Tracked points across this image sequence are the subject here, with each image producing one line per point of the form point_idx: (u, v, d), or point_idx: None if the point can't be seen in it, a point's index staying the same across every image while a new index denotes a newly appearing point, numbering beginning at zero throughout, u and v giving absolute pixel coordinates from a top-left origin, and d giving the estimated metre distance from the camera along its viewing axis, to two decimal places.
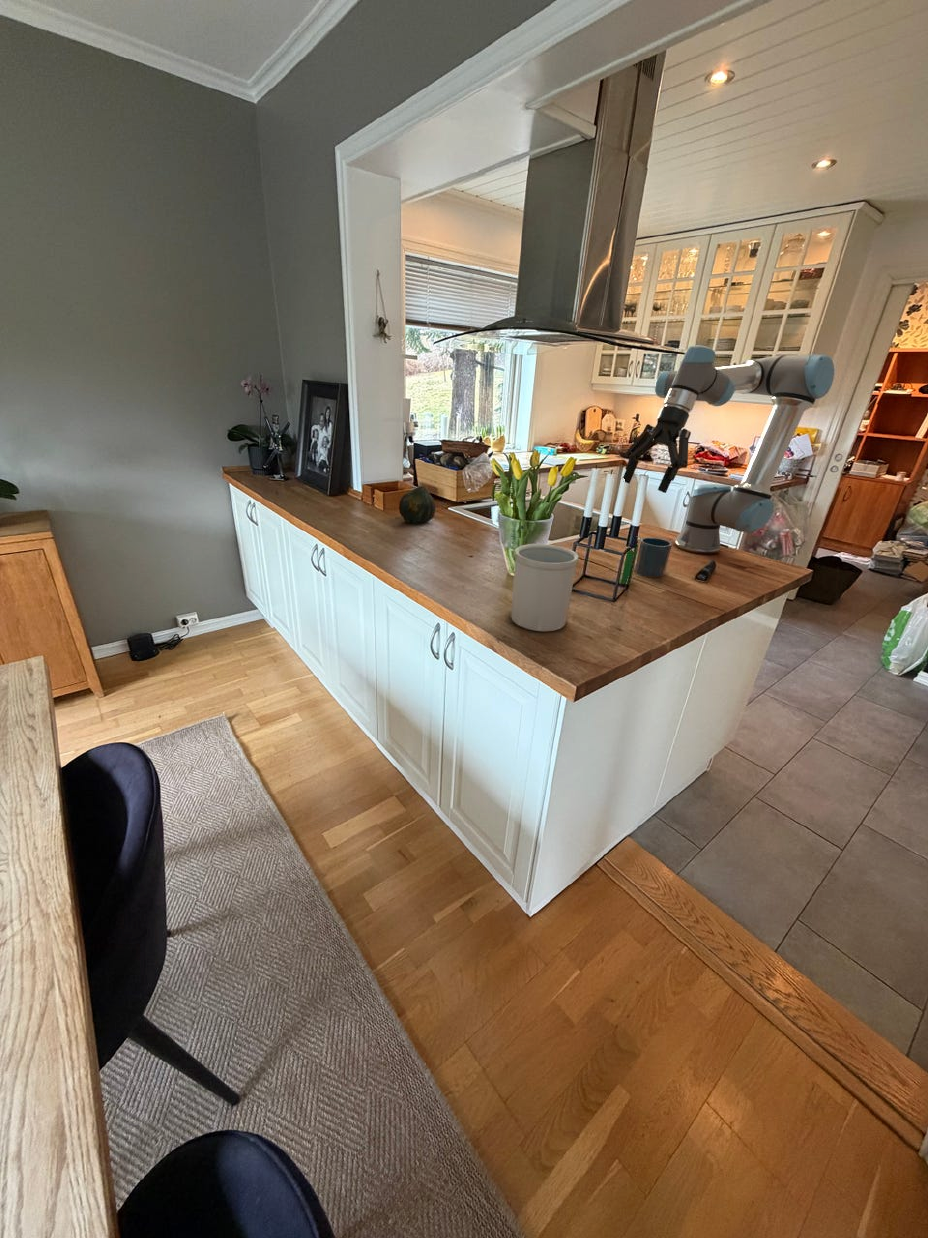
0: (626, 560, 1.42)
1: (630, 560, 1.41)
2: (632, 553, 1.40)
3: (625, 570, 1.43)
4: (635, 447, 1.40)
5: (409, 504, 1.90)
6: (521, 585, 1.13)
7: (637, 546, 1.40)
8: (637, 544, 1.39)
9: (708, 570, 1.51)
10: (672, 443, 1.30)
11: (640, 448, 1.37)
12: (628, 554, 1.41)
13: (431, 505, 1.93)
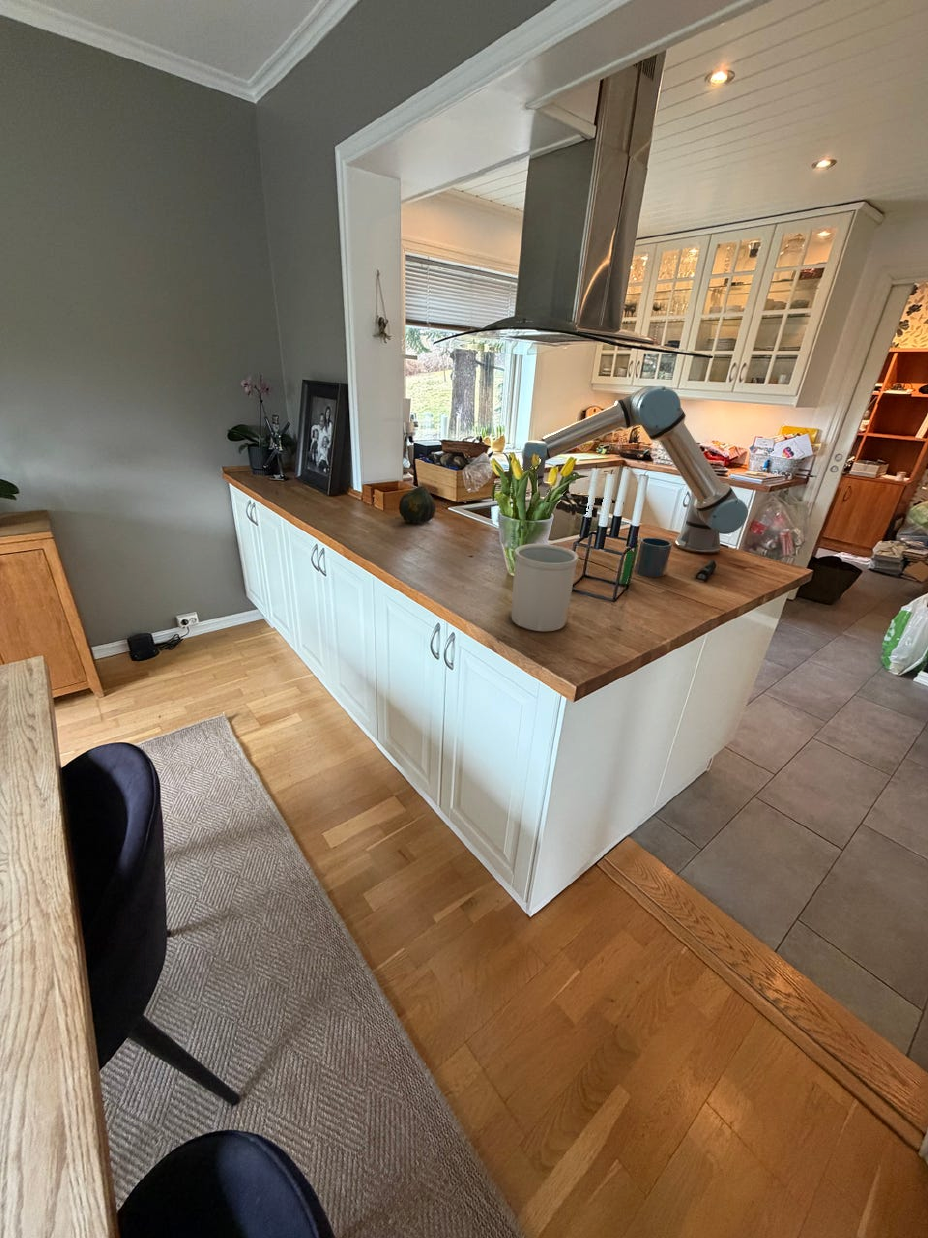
0: (626, 560, 1.42)
1: (630, 560, 1.41)
2: (632, 553, 1.40)
3: (625, 570, 1.43)
4: None
5: (409, 504, 1.90)
6: (521, 585, 1.13)
7: (637, 546, 1.40)
8: (637, 544, 1.39)
9: (708, 570, 1.51)
10: None
11: None
12: (628, 554, 1.41)
13: (431, 505, 1.93)
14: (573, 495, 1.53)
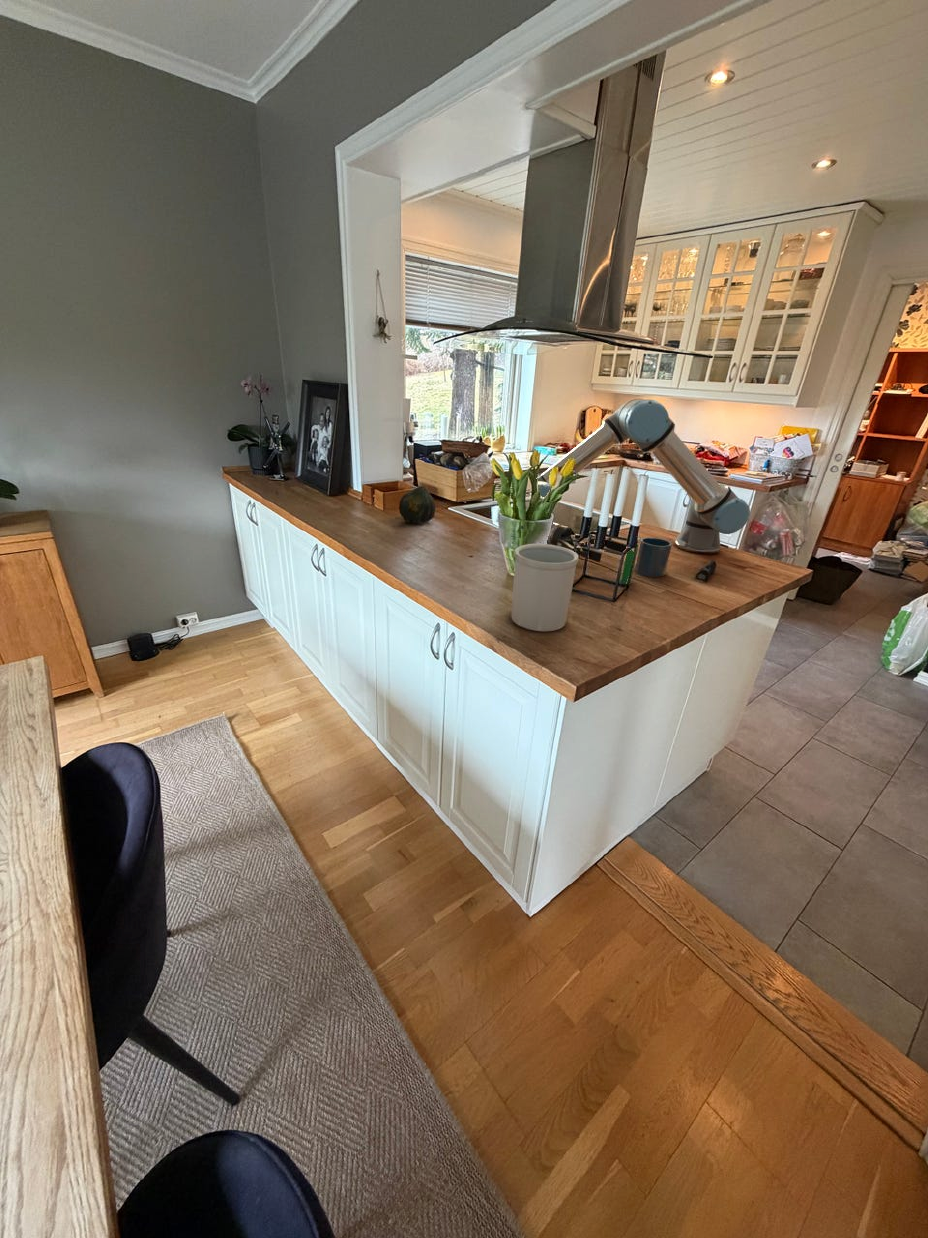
0: (626, 560, 1.42)
1: (630, 560, 1.41)
2: (632, 553, 1.40)
3: (625, 570, 1.43)
4: None
5: (409, 504, 1.90)
6: (521, 585, 1.13)
7: (637, 546, 1.40)
8: (637, 544, 1.39)
9: (708, 570, 1.51)
10: None
11: None
12: (628, 554, 1.41)
13: (431, 505, 1.93)
14: (577, 536, 1.56)
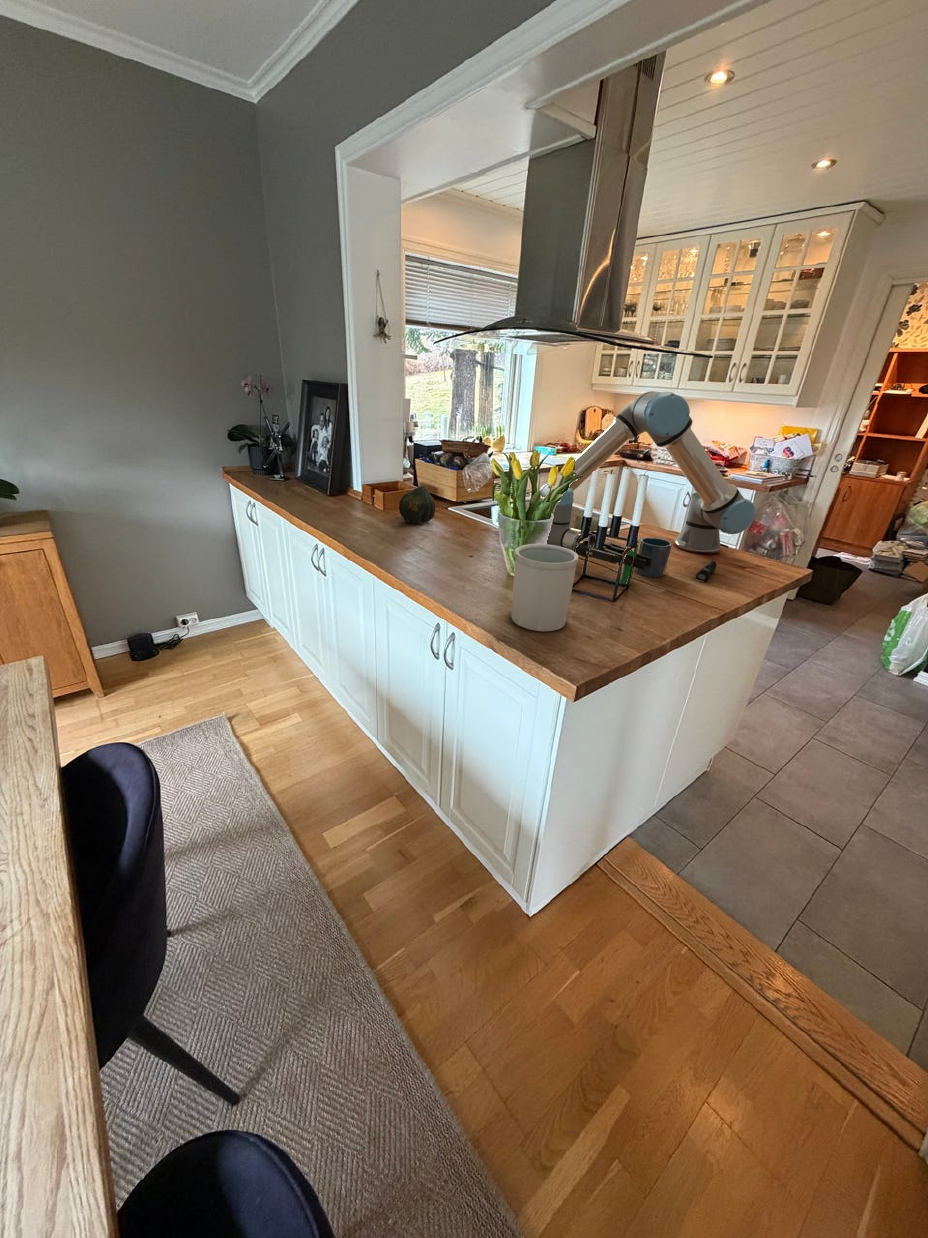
0: None
1: None
2: (632, 553, 1.40)
3: (625, 570, 1.43)
4: None
5: (409, 504, 1.90)
6: (521, 585, 1.13)
7: (637, 546, 1.40)
8: (637, 544, 1.39)
9: (708, 570, 1.51)
10: None
11: None
12: (628, 554, 1.41)
13: (431, 505, 1.93)
14: None
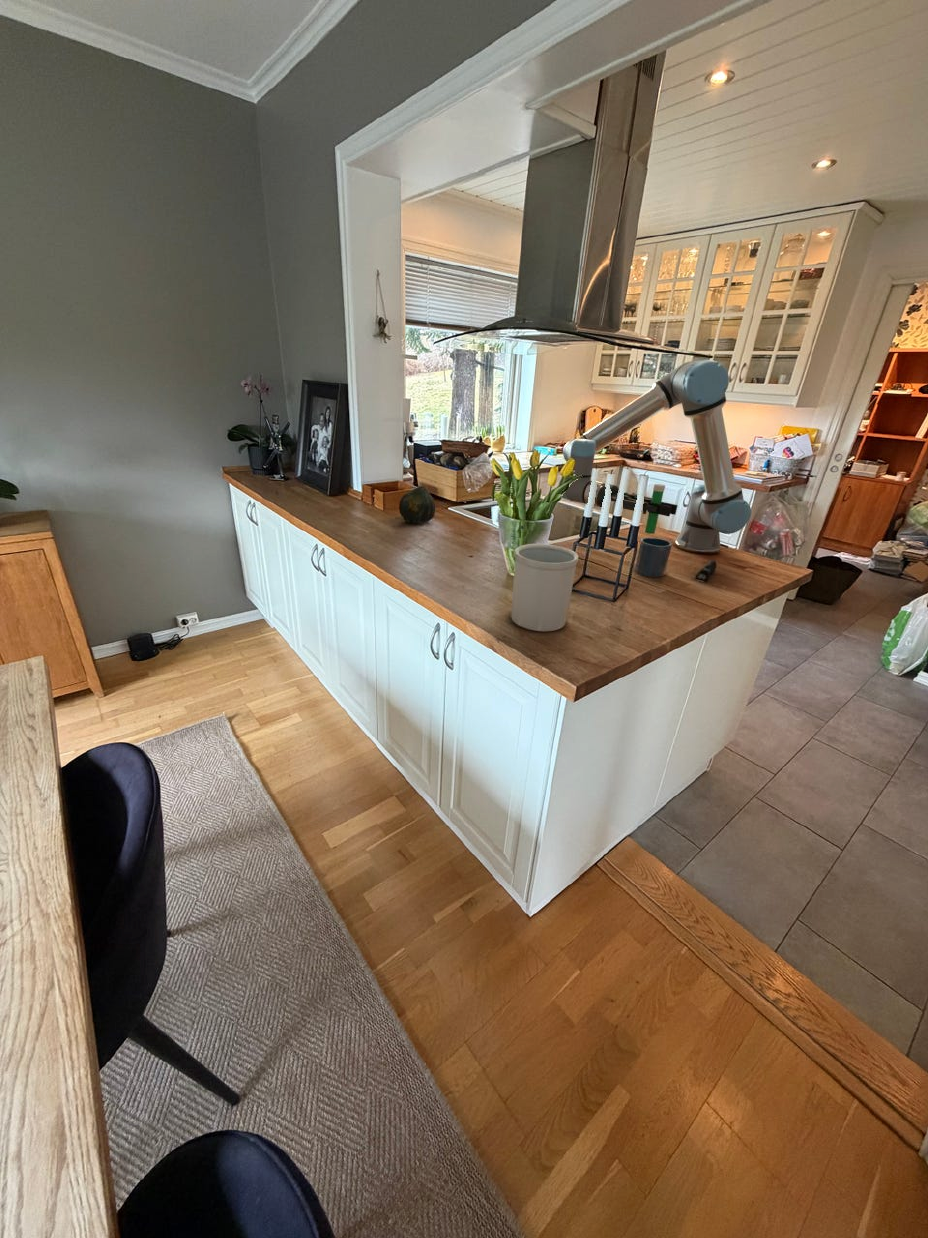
0: None
1: None
2: (657, 500, 1.39)
3: (649, 519, 1.42)
4: None
5: (409, 504, 1.90)
6: (521, 585, 1.13)
7: (662, 493, 1.39)
8: (662, 491, 1.38)
9: (708, 570, 1.51)
10: None
11: None
12: (653, 502, 1.40)
13: (431, 505, 1.93)
14: (624, 494, 1.49)
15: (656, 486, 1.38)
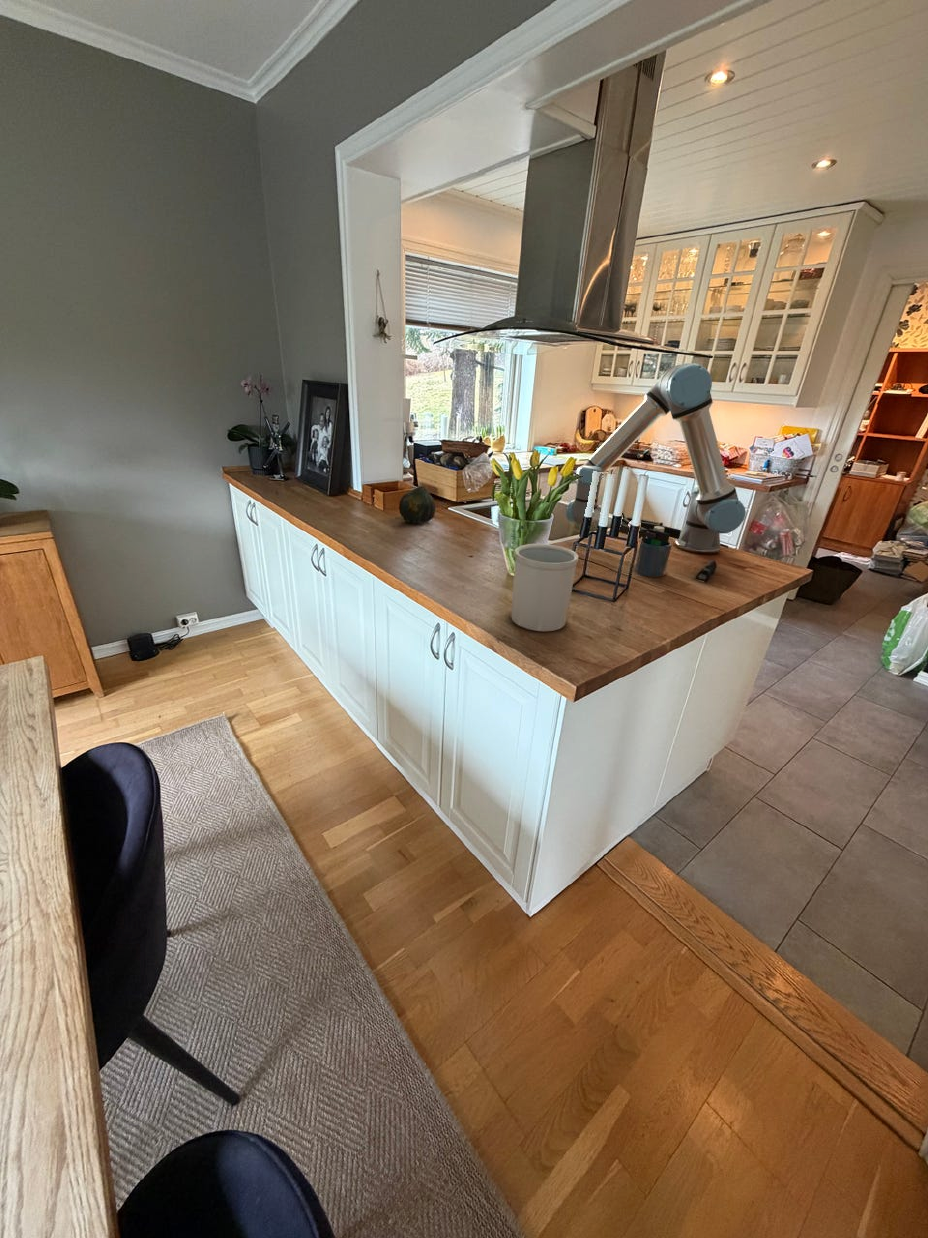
0: None
1: None
2: (657, 542, 1.49)
3: None
4: None
5: (409, 504, 1.90)
6: (521, 585, 1.13)
7: None
8: None
9: (709, 570, 1.51)
10: None
11: None
12: (653, 543, 1.50)
13: (431, 505, 1.93)
14: (629, 519, 1.57)
15: (656, 529, 1.48)
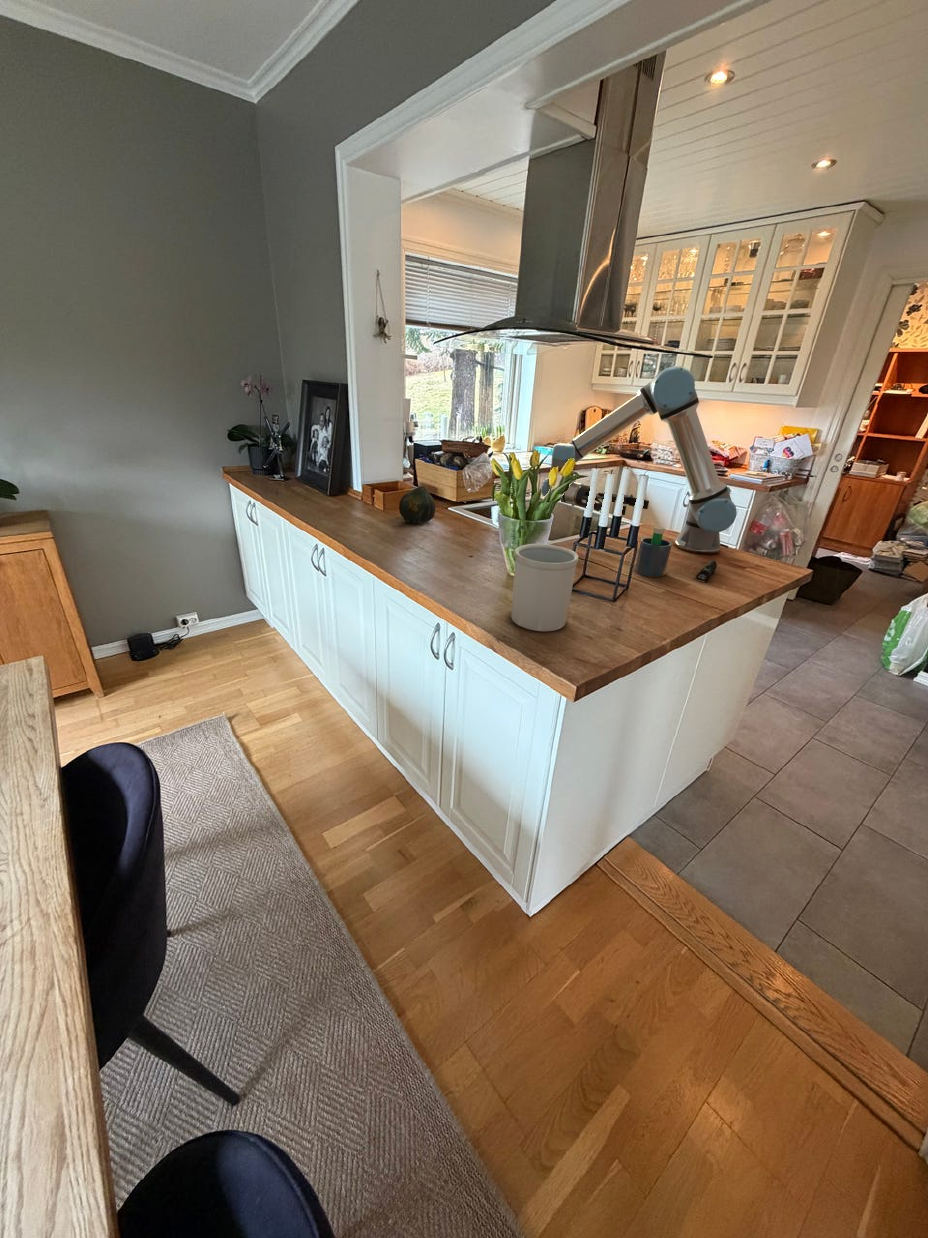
0: None
1: None
2: (657, 542, 1.49)
3: None
4: None
5: (409, 504, 1.90)
6: (521, 585, 1.13)
7: (662, 535, 1.49)
8: (662, 533, 1.48)
9: (709, 570, 1.51)
10: None
11: None
12: (653, 543, 1.50)
13: (431, 505, 1.93)
14: (600, 494, 1.62)
15: (656, 529, 1.48)
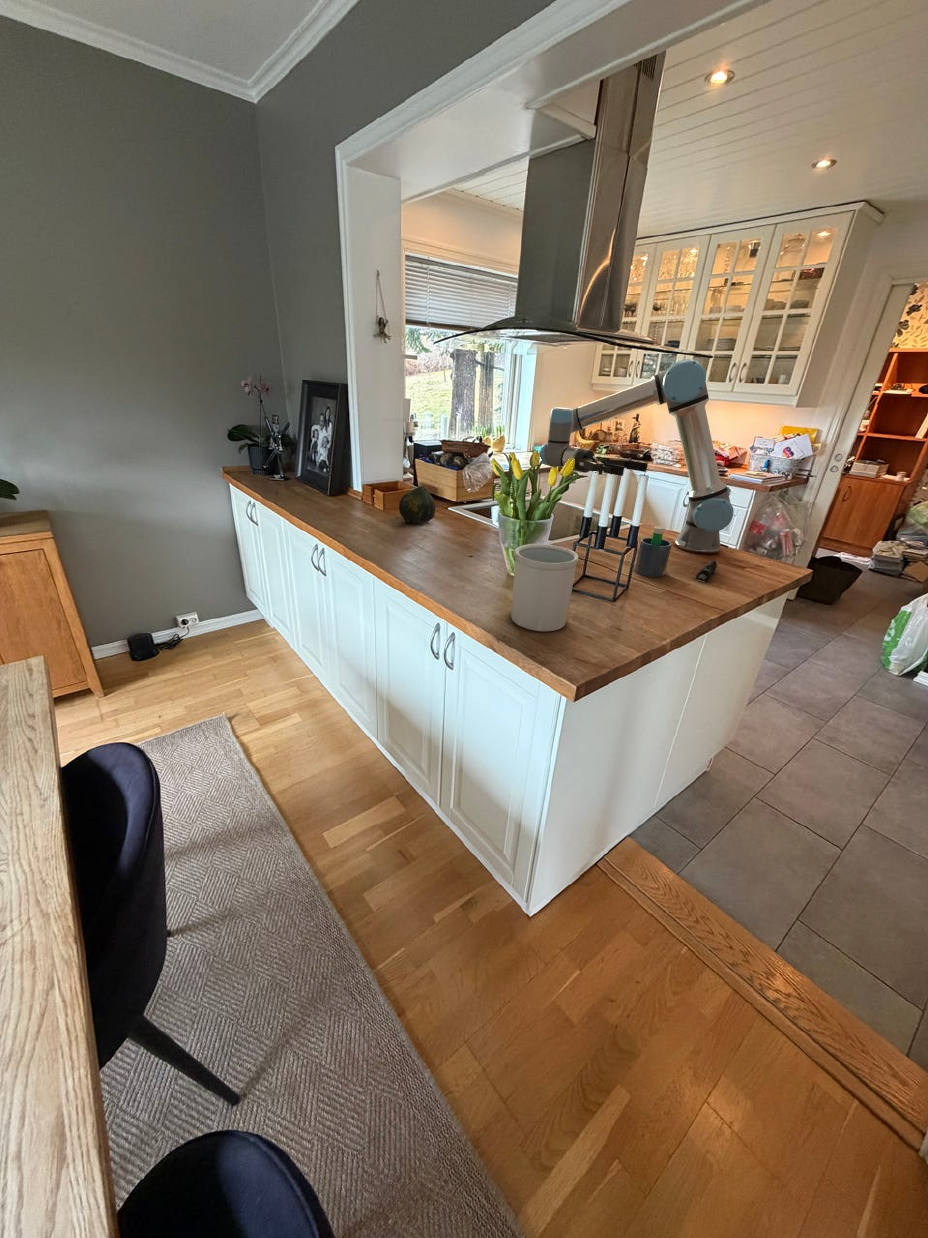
0: None
1: None
2: (657, 542, 1.49)
3: None
4: None
5: (409, 504, 1.90)
6: (521, 585, 1.13)
7: (662, 535, 1.49)
8: (662, 533, 1.48)
9: (709, 570, 1.51)
10: None
11: None
12: (653, 543, 1.50)
13: (431, 505, 1.93)
14: (599, 458, 1.60)
15: (656, 529, 1.48)
